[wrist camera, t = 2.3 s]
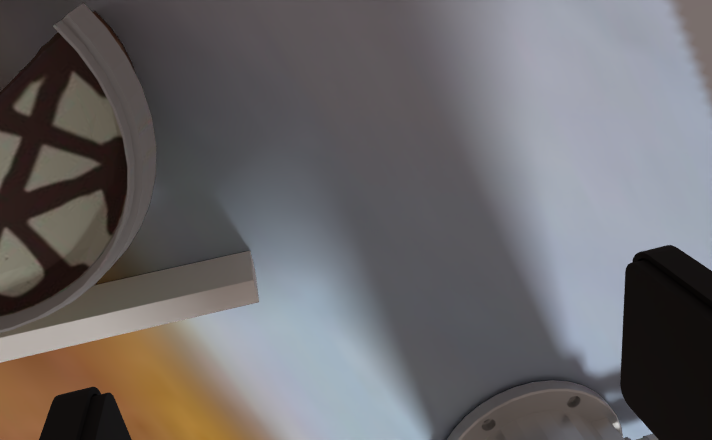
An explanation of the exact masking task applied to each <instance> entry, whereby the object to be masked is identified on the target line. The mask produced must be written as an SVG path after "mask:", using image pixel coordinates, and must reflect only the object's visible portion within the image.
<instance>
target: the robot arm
mask: <svg viewBox="0 0 712 440" xmlns="http://www.w3.org/2000/svg"><path fill="white" fill-rule="evenodd" d="M620 385H621V391H622V394H623V397H624V399H625V401H626V403H627V404H628V405H629V407H630V408H631V409H632V410H633V411H634V412H635V414H636V415H637V416H638V417H639V418H640V419H641V420H642V421H643V423H644V424H645V425H646V426H647V427H648V428H649V429H650V430H651V432H652V433H653V434H650V435H646V436H643V438H640V439H636V440H712V271H711V270H709V269H708V268H706V267H705V266H703V265H702V264H701V263H699V262H698V261H696V260H695V259H693V258H692V257H690V256H689V255H687V254H686V253H684V252H683V251H681V250H680V249H678V248H676V247H674V246H672V245H667V246H663V247H659V248H655V249H651V250H647V251H642V252H639V253H637V254H636V255H635V257H634V258H633V263H630V264H628V266H627V267H626V272H625V294H624V316H623V338H622V359H621V381H620ZM39 440H131V437H130V435H129V432H128V430H127V428H126V425H125V423H124V420H123V418H122V415H121V413H120V411H119V408H118V406H117V403H116V401H115V399H114V397H113V395H112V394H111V393H105V394H101V393H100V391H99V390H98V389H97V388H96V387H90V388H86V389H82V390H78V391H74V392H69V393H65V394H61V395H58V396H56V397H55V398H54V400H53V402H52V404H51V407H50V410H49V413H48V416H47V419H46V421H45V424H44V427H43V430H42V433H41V436H40V439H39ZM447 440H631V439H630V438H628V437H625V438H623V434H622V427H621V424H620V422H619V420H618V417H617V415H616V414H615V412H614V411H613V410H612V409H611V407H610V406H609V405H608V404H607V402H606V401H605V400H604V399H603V398H602V397H601V396H600V395H598V394H597V393H596V392H595V391H593V390H591V389H589V388H587V387H585V386H584V385H580V384H576V383H573V382H569V381H556V380H549V381H539V382H532V383H528V384H524V385H520V386H517V387H514V388H511V389H509V390H507V391H504V392H502V393H499V394H497V395H495V396H494V397H492V398H490V399H489V400H487V401H485V402H484V403H482V404H480V405H479V406H478V407H477V408H475V409H474V410H473V411H472V412H471V413H469V414H468V415H467V416H466V417H465V418H464V419H463V420H462V421H461V422H460V423H459V424H458V425H457V426H456V428H455V429H454V430H453V431H452V432H451V434H450V435H449V437H448V439H447Z"/></svg>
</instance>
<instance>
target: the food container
mask: <svg viewBox="0 0 712 440" xmlns="http://www.w3.org/2000/svg"><path fill="white" fill-rule="evenodd" d="M53 27H54V28H55V29H56V30H57V31H58V33H57V34H55V35H54V37H53V38H52V39H51V40H50V41H49V42H48V43H46V44H45V45H44V46H42V47H41V49H40V50H39V51H38V53H37V54H36V56H35V57H34V58H33V59H32V60H31V61H30V62H29V63H28V65H27V66H26V67H25V68H24V69H22V70H21V71H20V72H19V73H18V75H17V76H16V77H15V78H14V79H13V80H12V81H11V82H10V83H9V84H8V85H7V86H6V87H5V88H4V89H3V90H2V91H1V92H0V333H2V332H6V331H10V330H13V329H16V328H18V327H21V326H23V325H26V324H28V323H31V322H33V321H36V320H38V319H41V318H43V317H46V316H48V315H50V314H52V313H54V312H55V311H57V310H59V309H61V308H63V307H64V306H66V305H68V304H70V303H71V302H73V301H74V300H76V299H77V298H78V297H79V296H81V295H82V294H83V293H85V292H86V291H87V290H88V289H90V288H91V287H92V286H93V285H95V284H96V283H97V281H98V280H99V279H100V278H101V277H102V276H103V275H104V274H105V273H106V272H107V271H108V270H109V269H110V268H111V267H112V266H113V264H114V263H115V262H116V261H117V260H118V259H119V258H120V257H121V255H122V254H123V253H124V252H125V251H126V250H127V248H128V247H129V245H130V244H131V242H132V240H133V239H134V237H135V235H136V234H137V232H138V231H139V229H140V227H141V225H142V223H143V220H144V218H145V215H146V212H147V210H148V207H149V205H150V202H151V197H152V192H153V187H154V182H155V177H156V141H155V134H154V128H153V121H152V116H151V113H150V110H149V107H148V104H147V101H146V98H145V94H144V91H143V88H142V86H141V84H140V82H139V80H138V78H137V76H136V73H135V71H134V68H133V65H132V62H131V60H130V58H129V56H128V54H127V52H126V50H125V48H124V46H123V44H122V43H121V41H120V40H119V38H118V37H117V36H116V34H115V33H114V31H113V30H112V29H111V27H110V26H109V25H108V24H107V23H106V22H105V21H104V20H103V19H102V18H101V17H100V15H99V14H98V13H97V12H96V11H93V12H92V11H91V10H90V9H89V8H88V7H87V6H86V5H85V4H84V3H82V4H81V5H80V6H78V7H77V8H75V9H74V10H73V11H71V12H70V13H68V14H67V15H66V16H65V17H64V18H63V19H62V20H61V21H59V22H58V23H56V24H55V25H54V26H53Z"/></svg>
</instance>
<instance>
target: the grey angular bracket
mask: <svg viewBox="0 0 712 440" xmlns="http://www.w3.org/2000/svg"><path fill="white" fill-rule="evenodd" d="M257 302H259V297H258V289H257V281H256V272H255V268H254V264H253V260H252V256H251V252H250V251H246V252H241V253H237V254H232V255H228V256H223V257H219V258H215V259H210V260H206V261H201V262H197V263H192V264H188V265H183V266H179V267H174V268H170V269H165V270H161V271H156V272H152V273H147V274H143V275H138V276H134V277H129V278H125V279H120V280H116V281H111V282H107V283H102V284H98V285H93V286H92V287H91V288H90V289H88V290H87V291H86V292H85V293H83V294H82V295H81V296H79V297H78V298H77V299H76V300H74V301H73V302H71V303H70V304H68V305H66V306H64V307H63V308H61V309H59V310H57V311H55V312H54V313H52V314H50V315H48V316H46V317H43V318H41V319H38V320H36V321H33V322H31V323H28V324H26V325H23V326H21V327H18V328H16V329H13V330H10V331H6V332H2V333H0V362H4V361H9V360H13V359H17V358H21V357H26V356H30V355H34V354H39V353H43V352H47V351H51V350H56V349H60V348H64V347H69V346H73V345H77V344H81V343H86V342H90V341H94V340H99V339H103V338H107V337H111V336H116V335H120V334H124V333H129V332H133V331H137V330H141V329H146V328H150V327H154V326H159V325H163V324H167V323H172V322H176V321H180V320H184V319H189V318H193V317H197V316H202V315H206V314H210V313H214V312H219V311H223V310H227V309H232V308H236V307H240V306H244V305H249V304H253V303H257Z"/></svg>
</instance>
